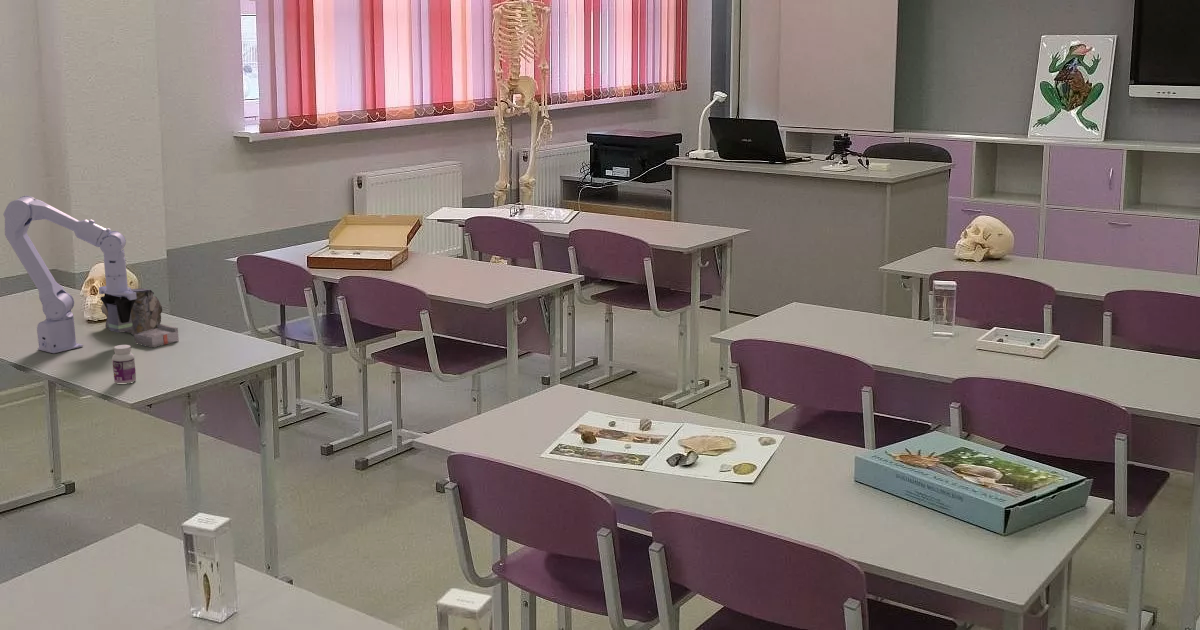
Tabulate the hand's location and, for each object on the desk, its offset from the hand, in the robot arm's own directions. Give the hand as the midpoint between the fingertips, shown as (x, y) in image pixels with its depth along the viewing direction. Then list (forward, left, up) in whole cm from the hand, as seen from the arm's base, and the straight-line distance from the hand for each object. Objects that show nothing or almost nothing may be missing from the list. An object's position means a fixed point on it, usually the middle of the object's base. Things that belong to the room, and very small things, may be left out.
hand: (120, 321), depth 347 cm
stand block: (+8, -5, -7) cm, 12 cm away
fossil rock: (+14, +14, -8) cm, 21 cm away
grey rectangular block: (0, 0, -3) cm, 3 cm away
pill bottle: (-22, -32, -8) cm, 40 cm away
